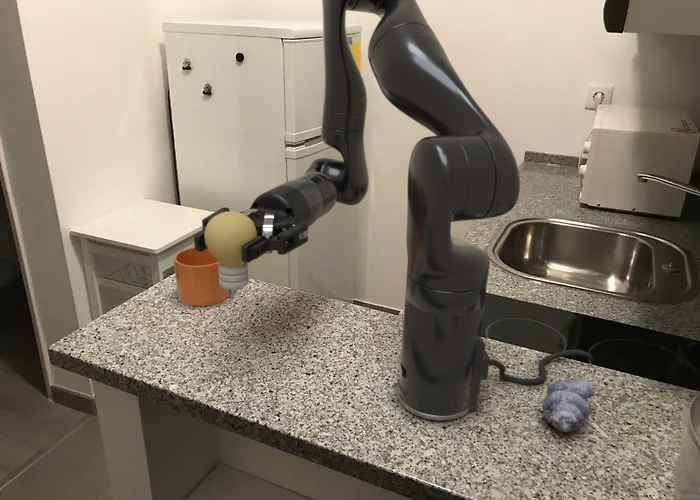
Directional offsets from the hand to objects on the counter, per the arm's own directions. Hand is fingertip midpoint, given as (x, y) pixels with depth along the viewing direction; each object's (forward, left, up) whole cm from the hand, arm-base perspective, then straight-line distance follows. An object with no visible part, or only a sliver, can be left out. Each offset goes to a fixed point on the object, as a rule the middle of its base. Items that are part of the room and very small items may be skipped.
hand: (220, 249), depth 71 cm
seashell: (-41, +13, -18) cm, 47 cm away
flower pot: (+6, -22, -18) cm, 29 cm away
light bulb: (-1, -2, -6) cm, 7 cm away
